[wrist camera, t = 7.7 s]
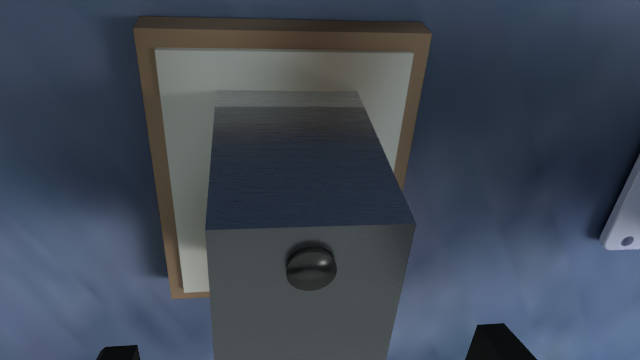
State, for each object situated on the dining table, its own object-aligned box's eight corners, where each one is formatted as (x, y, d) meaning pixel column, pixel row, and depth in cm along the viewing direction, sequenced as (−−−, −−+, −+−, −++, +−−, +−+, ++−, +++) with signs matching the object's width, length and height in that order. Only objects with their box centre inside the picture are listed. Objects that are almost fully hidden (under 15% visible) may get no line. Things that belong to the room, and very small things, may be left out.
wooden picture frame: (421, 22, 15) (434, 36, 14) (379, 269, 21) (385, 291, 20) (139, 16, 14) (132, 30, 13) (174, 279, 20) (171, 302, 19)
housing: (357, 91, 15) (419, 230, 10) (339, 247, 18) (377, 410, 13) (216, 90, 14) (204, 237, 9) (223, 251, 18) (218, 424, 13)
